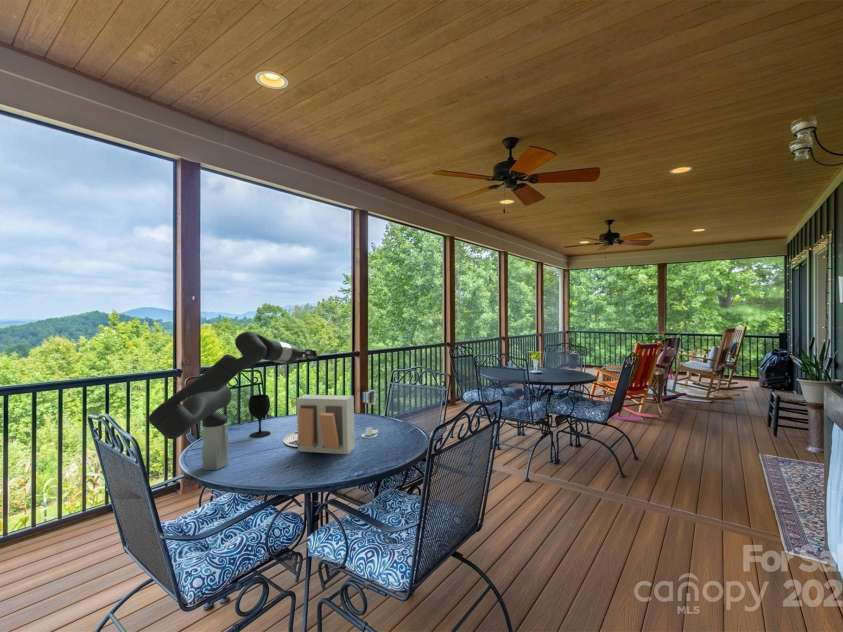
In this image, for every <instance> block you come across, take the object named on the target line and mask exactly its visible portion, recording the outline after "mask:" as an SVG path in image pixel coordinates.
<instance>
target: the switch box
mask: <svg viewBox="0 0 843 632" xmlns="http://www.w3.org/2000/svg"><path fill="white" fill-rule="evenodd" d="M354 398H355V397H354V395H343V394H342V395H337V394H336V395H333V394H303V395H302V396H299V397H296V424H297V427H296V428H297V429H296V430H297V452H304V453H323V454H336V455H337V454H340V455H342V454H343V455H349V454H350V453H351V452H352V451H353V450H354V449H356V447H355V446H356V442H355V410H354V409H355V403H354V402H355V399H354ZM301 408H309V409H314V445H313V446H312V447H311V446H299V409H301ZM320 413H334V416H335V422H336V429H337V435H338V441H339V447H338V449H334V448H324V442H323V436H322V430H321V425H320V419H319V415H320Z"/></svg>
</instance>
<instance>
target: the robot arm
mask: <svg viewBox="0 0 843 632" xmlns="http://www.w3.org/2000/svg"><path fill="white" fill-rule="evenodd" d="M234 346H235V348H236V349H237V350H238V352H239V353H240V354H241V355H242V356H241V357H239V358H237V357H236V356H234V355H232V354H229V353H228V354H225V355H223V356H222V357H221V358H220V359H219V360H218V361H216V362H215V363H214V364H213V365H212V366H210V367H209V369H207V370H206V371H205V372H204V373H203V374H201V375H200V376H198V377H197V378H195V379H194V380H192V381H191V382H190V383H188V384H187V385H185V386H184V387H182V388H181V389H180V390H178V391H177V392H176V393H174V394H173V395H171V396H170V397H169V398H168V399H166V400H165V401H164V402H162V403H161V404H160V405H158V406H157V407H156V408H155V409H154V410H153V411H152V412H151V413H150V415H149V416H148V419H147V420H148V423H149V424H151V425H152V427H154V428H155V429H156V430H157V431H158V432H159V433H160V434H161V435H163V437H165V439H166V438H167V439H168V440H176V439H178V438H180V437H181V436H183V435H184V434H186V433H187V432H188V431H189V430H190V429H191V428H193V427H195V425H196V424H198V423H200V422H201V421H202V423H201V424H202V425H201V426H202V447H201V449H202V450H201V451H202V452H201V454H202V457H201V458H202V460H201V461H202V471H207V470H208V471H213V470H214V471H218V470H219V469H222V468H225V467H226V466H228V465H230V464H229V463H230V462H229V460H230V459H229V432H228V430H229V427H228V425H229V424H228V416H227V415H226V414H223V413H220V412H217V411H218V410H220V409H223V408H226V407H228V405H229V404H230V403H231V400H232V396H233V395H232V394H233V393H232V390H231V388H230V387H229V386H228V385H227V384H228V383H229V382H230V381H231V380H232V379H234V378H235V377H236V376H237V375H238V374H239V373H240V372H242V371H245V370H246V369H248V368H249V367H251V366H253V365H255V364H258V363H259V362H261V361H262V360H264V361H270V362H273V363H278V364H285V365H291V364H293V363H294V362H298V361H299V360H307V359H314V360H315V359H318V353H317V350H313V349H309V348H306V349H299V348H297V346H296V345H294V344H293V343H289V342H285V341H277V340H273V339H268V338H266V337H265V336H263V335H261V334H259V333H257V332H254V331H244V332H242V333H240V334H238V335H237V336H236V338H235V341H234ZM184 400H185V401H184ZM182 402H183V403H182Z"/></svg>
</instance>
